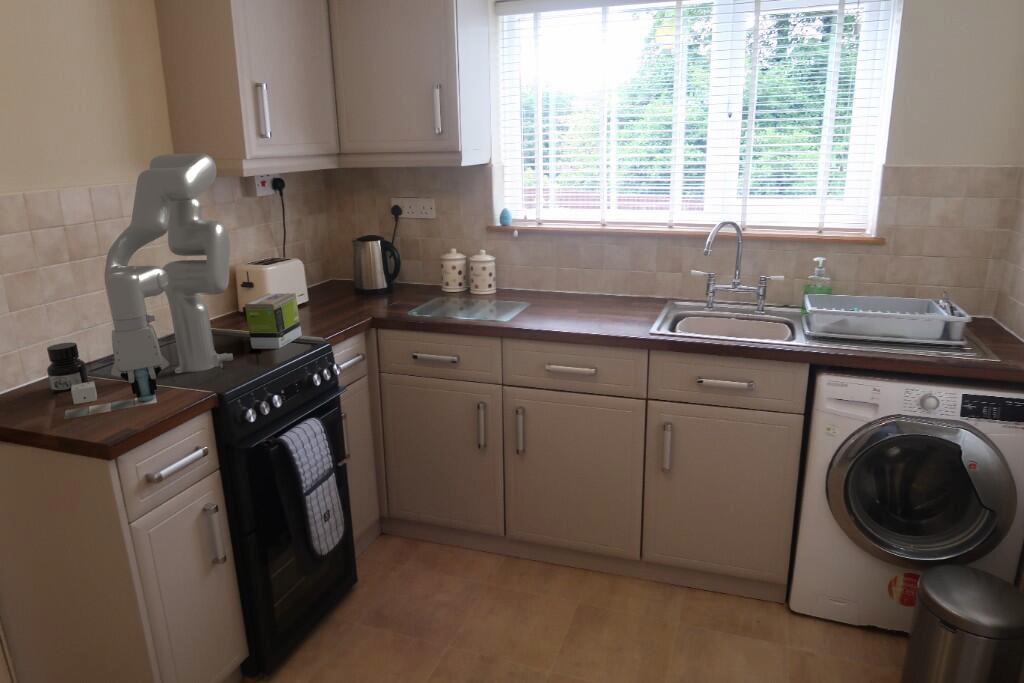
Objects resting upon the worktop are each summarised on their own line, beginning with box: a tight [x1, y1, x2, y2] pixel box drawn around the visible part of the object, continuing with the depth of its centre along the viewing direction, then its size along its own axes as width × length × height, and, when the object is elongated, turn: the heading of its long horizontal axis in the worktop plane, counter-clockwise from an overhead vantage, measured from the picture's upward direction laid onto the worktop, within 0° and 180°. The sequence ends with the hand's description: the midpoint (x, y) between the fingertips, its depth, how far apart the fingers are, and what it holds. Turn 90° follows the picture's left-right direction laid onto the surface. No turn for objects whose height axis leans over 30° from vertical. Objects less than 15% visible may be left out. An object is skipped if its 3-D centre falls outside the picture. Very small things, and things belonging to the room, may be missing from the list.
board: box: [63, 394, 158, 420], centre depth 177 cm, size 20×7×1 cm, turn 118°
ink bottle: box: [46, 342, 90, 394], centre depth 195 cm, size 10×9×12 cm
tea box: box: [244, 292, 303, 350], centre depth 231 cm, size 15×10×15 cm, turn 168°
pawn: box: [133, 368, 156, 401], centre depth 180 cm, size 4×4×9 cm
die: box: [70, 380, 98, 405], centre depth 183 cm, size 5×5×5 cm
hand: (145, 393), depth 181 cm, fingers closed on pawn, 2 cm apart
